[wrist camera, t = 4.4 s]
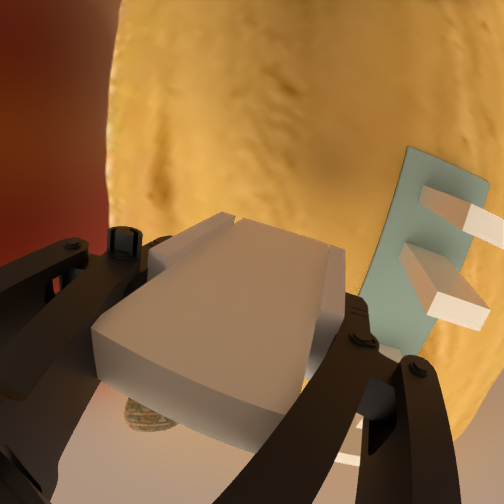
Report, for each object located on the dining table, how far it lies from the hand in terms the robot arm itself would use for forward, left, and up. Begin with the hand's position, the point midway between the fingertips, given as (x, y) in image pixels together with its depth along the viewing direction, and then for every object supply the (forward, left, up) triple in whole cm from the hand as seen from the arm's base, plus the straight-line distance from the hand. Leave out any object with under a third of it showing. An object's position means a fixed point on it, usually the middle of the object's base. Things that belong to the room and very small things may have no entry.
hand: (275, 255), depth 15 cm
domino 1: (0, 0, -2) cm, 2 cm away
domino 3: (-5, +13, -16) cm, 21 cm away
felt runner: (+7, +13, -16) cm, 22 cm away
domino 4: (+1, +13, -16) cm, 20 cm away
